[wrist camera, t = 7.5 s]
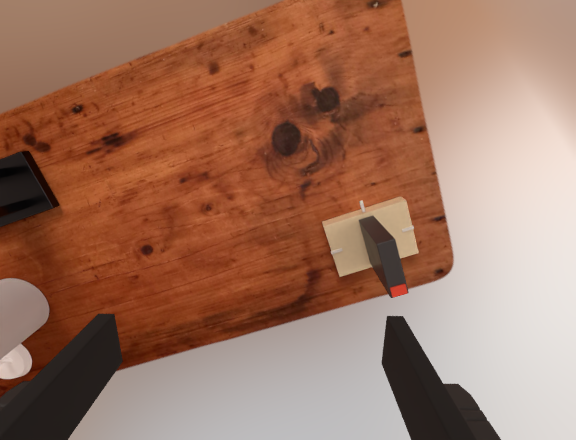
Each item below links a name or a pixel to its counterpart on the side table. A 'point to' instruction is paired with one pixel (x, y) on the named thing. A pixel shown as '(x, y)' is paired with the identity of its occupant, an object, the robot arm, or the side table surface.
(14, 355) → the figurine
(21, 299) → the light grey cylinder
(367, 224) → the thumbturn
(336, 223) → the plate
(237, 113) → the side table surface
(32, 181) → the latch bracket
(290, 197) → the side table surface
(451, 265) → the side table surface
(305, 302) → the side table surface
